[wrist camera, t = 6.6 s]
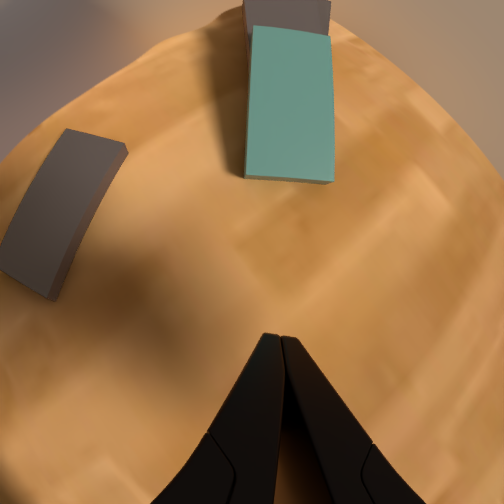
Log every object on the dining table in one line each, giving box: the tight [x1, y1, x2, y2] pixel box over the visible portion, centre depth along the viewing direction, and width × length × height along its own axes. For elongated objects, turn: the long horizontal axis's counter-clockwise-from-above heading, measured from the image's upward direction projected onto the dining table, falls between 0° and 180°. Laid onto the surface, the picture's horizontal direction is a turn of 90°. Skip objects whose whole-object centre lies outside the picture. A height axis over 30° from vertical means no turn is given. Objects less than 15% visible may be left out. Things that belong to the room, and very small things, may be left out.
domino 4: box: [317, 0, 331, 36], centre depth 24 cm, size 2×5×10 cm
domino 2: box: [242, 0, 319, 72], centre depth 18 cm, size 2×5×10 cm
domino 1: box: [0, 128, 128, 301], centre depth 16 cm, size 10×5×2 cm, turn 161°
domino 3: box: [244, 25, 335, 185], centre depth 17 cm, size 2×5×10 cm
